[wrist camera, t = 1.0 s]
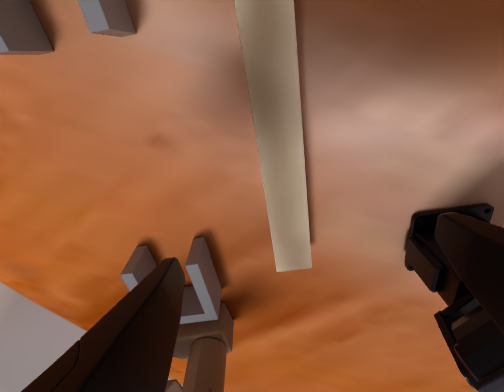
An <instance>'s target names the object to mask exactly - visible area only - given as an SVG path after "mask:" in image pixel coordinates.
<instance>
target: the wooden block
mask: <svg viewBox="0 0 504 392" xmlns="http://www.w3.org/2000/svg"><path fill="white" fill-rule="evenodd" d="M233 325H234V322H233V319H232V317H231V315H230V313H229V311H228V309H227V306H226V304H225V303H220V308H219V317H218V319H217V320H209V321H201V322H193V323H185V324H180V325H179V330H178V335H177V339H176V344H175V349H174V353H173V357H177V358H180V359H188V363H187V368H186V373H185V378H184V383H183V388H182V386H181V385H180V384H179V382H178V381H177V380H176V379H175V380H169V381H167V386H166V390H165V392H224V379H225V366H226V353H228V352H231V351H232V342H233Z"/></svg>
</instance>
